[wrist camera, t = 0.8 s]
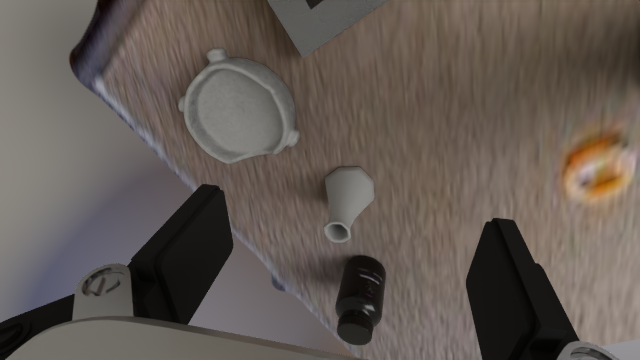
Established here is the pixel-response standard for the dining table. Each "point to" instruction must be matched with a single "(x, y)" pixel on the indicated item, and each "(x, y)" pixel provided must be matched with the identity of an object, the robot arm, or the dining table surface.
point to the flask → (346, 200)
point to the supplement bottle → (360, 299)
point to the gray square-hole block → (319, 19)
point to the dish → (239, 109)
